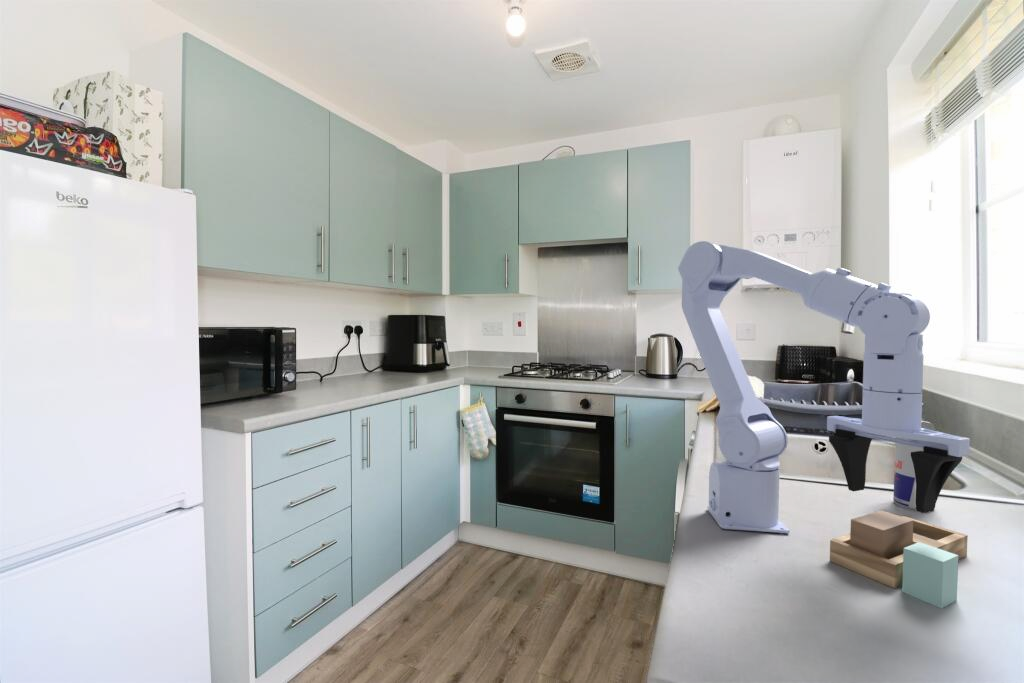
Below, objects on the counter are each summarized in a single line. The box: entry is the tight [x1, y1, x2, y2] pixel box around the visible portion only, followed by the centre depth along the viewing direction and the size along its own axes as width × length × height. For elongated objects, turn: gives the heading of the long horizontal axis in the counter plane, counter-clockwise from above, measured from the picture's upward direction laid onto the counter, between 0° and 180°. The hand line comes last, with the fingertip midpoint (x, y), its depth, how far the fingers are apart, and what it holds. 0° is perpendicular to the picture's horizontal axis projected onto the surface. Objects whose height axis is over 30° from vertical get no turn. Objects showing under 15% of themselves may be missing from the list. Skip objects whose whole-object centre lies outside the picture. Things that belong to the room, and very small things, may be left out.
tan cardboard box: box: [849, 509, 913, 560], centre depth 58 cm, size 7×4×4 cm, turn 117°
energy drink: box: [893, 438, 936, 511], centre depth 79 cm, size 5×5×12 cm
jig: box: [829, 515, 969, 589], centre depth 60 cm, size 18×7×3 cm, turn 117°
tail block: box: [901, 542, 959, 609], centre depth 52 cm, size 4×4×5 cm
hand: (888, 499), depth 58 cm, fingers open, 7 cm apart
